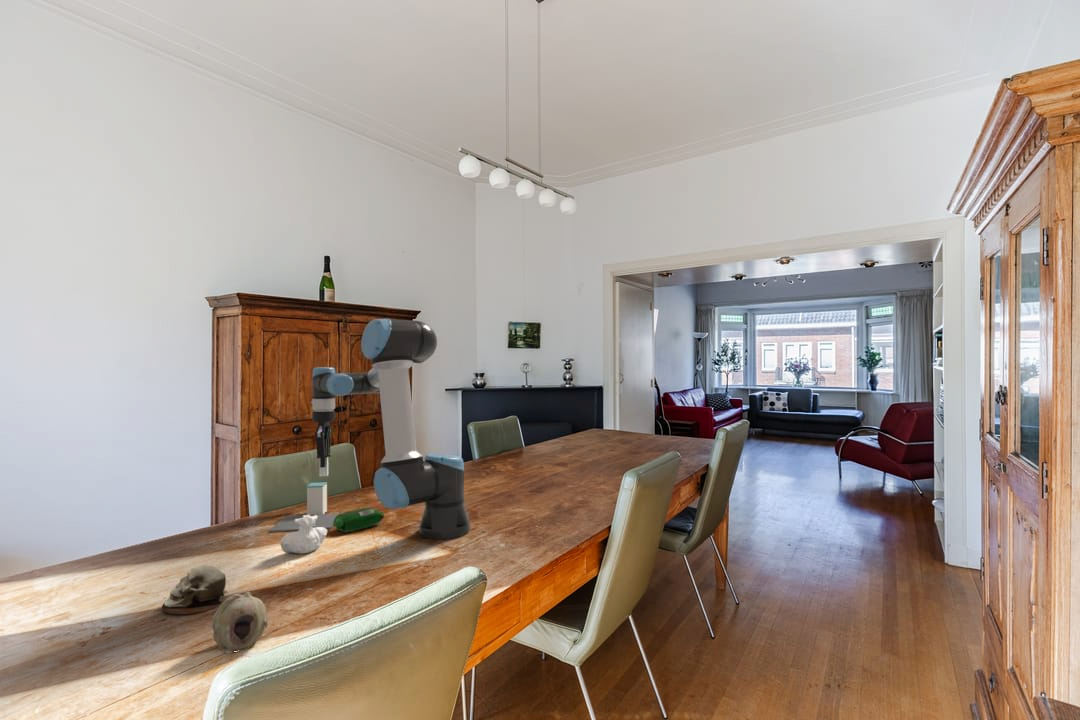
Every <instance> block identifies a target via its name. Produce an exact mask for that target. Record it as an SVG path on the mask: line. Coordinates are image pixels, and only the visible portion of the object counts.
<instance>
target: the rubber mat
mask: <svg viewBox="0 0 1080 720" xmlns="http://www.w3.org/2000/svg"><path fill="white" fill-rule="evenodd" d="M341 513H342V512H341ZM341 513H340V512H339V513H325V514H316V515H317V519H316V520H315V526H312V528H316V527H324V528H325V529H327V530H332V528H333V527H334V526H333V522H334V519H335V517H336V516H337V515H339V514H341ZM303 515H304V514H300V515H299V514H298V515H285V516H284V517H283V518H282V519H280V520H279V521H278V522H277V523H276V524H274V526H273V527H271V528H270V529H269V530H268V533H281V532H283V533H284V532H297V531H299V526H300V524H298V523H296V522H295V521H294V520H295V519H299V518H303ZM310 516H314V515H310Z"/></svg>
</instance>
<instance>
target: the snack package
mask: <svg viewBox="0 0 1080 720" xmlns="http://www.w3.org/2000/svg"><path fill="white" fill-rule="evenodd" d="M384 518H385V514H384V513H382V511H379V510H377V509H375V508H373V507H363V508H359V509H354V510H350V511H345V512H341V514H339V515H337V516H336V517H335V519H334V522H333V527H335V528H336V530H337V531H340V532H342V533H346V534H347V532H348V533H351V532H355V531H359V530H363V529H367V528H371V527H374V526H377V525H378V524H379V523H380V522H381V521H382V520H383V519H384Z"/></svg>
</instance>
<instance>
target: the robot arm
mask: <svg viewBox="0 0 1080 720" xmlns="http://www.w3.org/2000/svg"><path fill="white" fill-rule="evenodd" d="M436 335H437V334H436V333H435V331H434V330H433V328H432V327H431V326H430V325H428V324H427V323H425V322H423V321H419V320H408V319H394V318H387V317H386V318H374V319H372V320H371V321H369V322H367V325H366V326H365V328H364V330H363V333H362V336H361V345H360V346H361V352H362V354H363V356H364V357H365V358H366V359H368V360H371V361H370V363H371V367H372V368H371V369H369V370H368V371H367V372H345V373H344V372H341V373H339V372H338V373H336V369H335V368H334V367H321V366H319V367H314V368H313V369H312V374H311V375H312V376H311V381H312V382H311V383H312V384H311V387H312V390H311V391H312V399H311V401H310V403H311V404H312V410H313V411H312V412H311V413H312V416H311V417H312V420H311V421H312V422H314V423H317V426H316V431H315V432H314V436H315V443H316V444H315V445H316V459H318V460H319V461H318V472H319V473H318V476H319V477H328V476H329V458H330V457H331V456H332V455H331V446H332V445H331V443H332V431H333V427H332V425H331V423H330V422H334V421H335V420H336V411H335V410H334V409H336V397H340V396H341V397H343V396H346V395H361V394H363V395H364V394H379V397H380V407H381V408H380V410H381V418H382V429H383V430H382V431H383V439H384V451H385V455H384V457H383V458H382V459H381V461H380V468H378V469H377V470H376V471H375V473H374V477H373V487H374V492H375V495H376V496H377V499H378V500H379V502H380V503H381V505H382V506H384V507H385V508H386V509H389V510H398V509H405V508H407V507H411V506H414V505H418V504H423V503H424V510H423V512H422V516H421V520H420V522H419V526H418V527H419V529H418V531H419V535H420V536H421V537H423V538H426V539H431V540H449V539H454V538H459V537H461V536H462V537H463V536H465V535H467V533H469V532H470V530H471V522H470V518H469V515H468V511H467V510H466V509H467V508H466V506H465V465H464V459H463V458H462V457H461V456H459V455H455V454H447V453H428V454H425V455H424V456H423V454H422V453H420V452H419V451H418V449H417V442H416V441H417V439H416V430H415V429H416V428H415V421H414V420H415V419H414V410H413V401H412V390H411V384H410V372H409V369H410V368H412V367H414V365H416V364H417V365H418V364H422V363H424V362H425V361H427V360H429V359H430V358H432V356H433V355H434V353H435V351H436V349H437V346H438V339H437V336H436Z"/></svg>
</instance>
